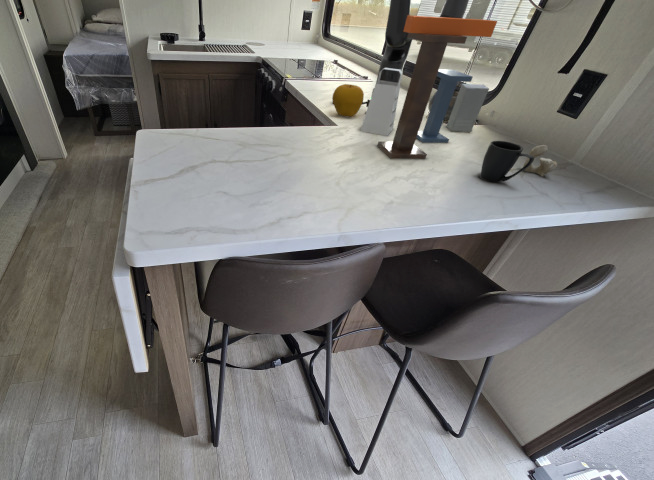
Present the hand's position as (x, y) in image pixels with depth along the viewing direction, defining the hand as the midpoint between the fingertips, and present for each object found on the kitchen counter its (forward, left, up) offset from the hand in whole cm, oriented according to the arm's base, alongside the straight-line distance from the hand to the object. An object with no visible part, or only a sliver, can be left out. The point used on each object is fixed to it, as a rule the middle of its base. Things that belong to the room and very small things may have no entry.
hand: (430, 69), depth 130 cm
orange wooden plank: (+8, -37, +13) cm, 40 cm away
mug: (+36, -44, -19) cm, 60 cm away
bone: (+46, -28, -19) cm, 57 cm away
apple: (-27, -10, -19) cm, 35 cm away
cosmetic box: (+17, +4, -19) cm, 26 cm away
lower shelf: (+10, -16, -19) cm, 27 cm away
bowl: (+8, +17, -19) cm, 27 cm away
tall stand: (+6, -39, -19) cm, 44 cm away
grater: (-9, -20, -19) cm, 29 cm away
